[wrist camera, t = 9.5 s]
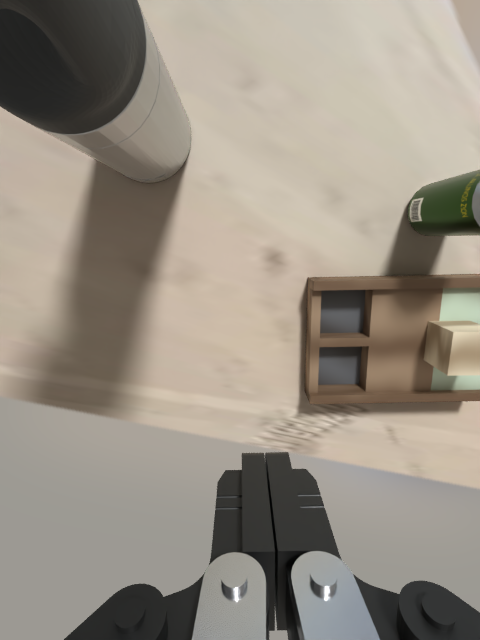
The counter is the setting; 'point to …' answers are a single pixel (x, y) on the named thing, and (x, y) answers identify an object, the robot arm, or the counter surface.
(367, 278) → the box
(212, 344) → the counter surface
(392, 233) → the counter surface
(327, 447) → the counter surface
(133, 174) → the robot arm
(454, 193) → the beer can
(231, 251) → the counter surface
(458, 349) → the maple block
